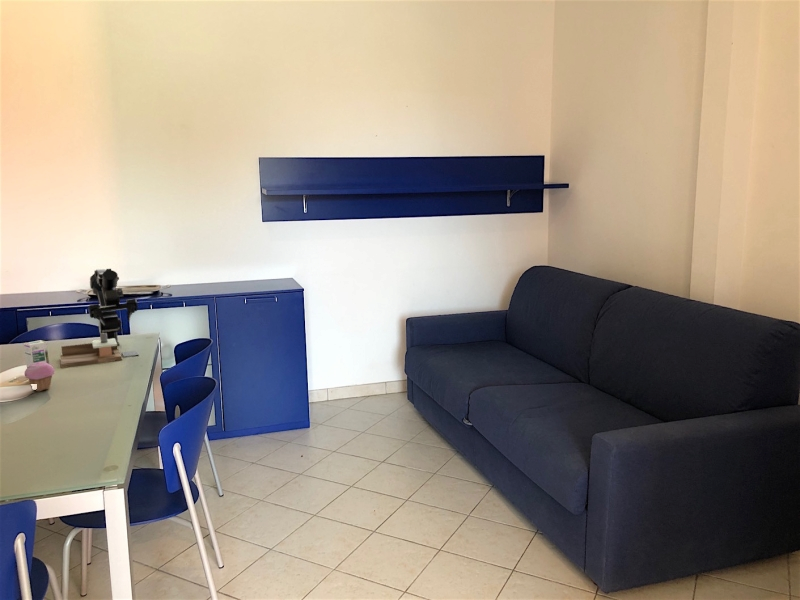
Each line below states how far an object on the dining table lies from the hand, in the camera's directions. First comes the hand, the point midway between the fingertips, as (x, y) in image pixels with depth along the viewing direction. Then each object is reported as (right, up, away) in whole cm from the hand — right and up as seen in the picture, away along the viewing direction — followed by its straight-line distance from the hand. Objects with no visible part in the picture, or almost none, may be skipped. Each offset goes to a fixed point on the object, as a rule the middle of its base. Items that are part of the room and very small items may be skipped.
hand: (117, 323), depth 252 cm
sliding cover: (-6, -9, +2) cm, 11 cm away
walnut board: (-10, -15, -2) cm, 18 cm away
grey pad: (+3, -14, +5) cm, 15 cm away
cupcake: (-7, -22, -42) cm, 48 cm away
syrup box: (-14, -20, -30) cm, 39 cm away
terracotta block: (-5, -15, +1) cm, 16 cm away
